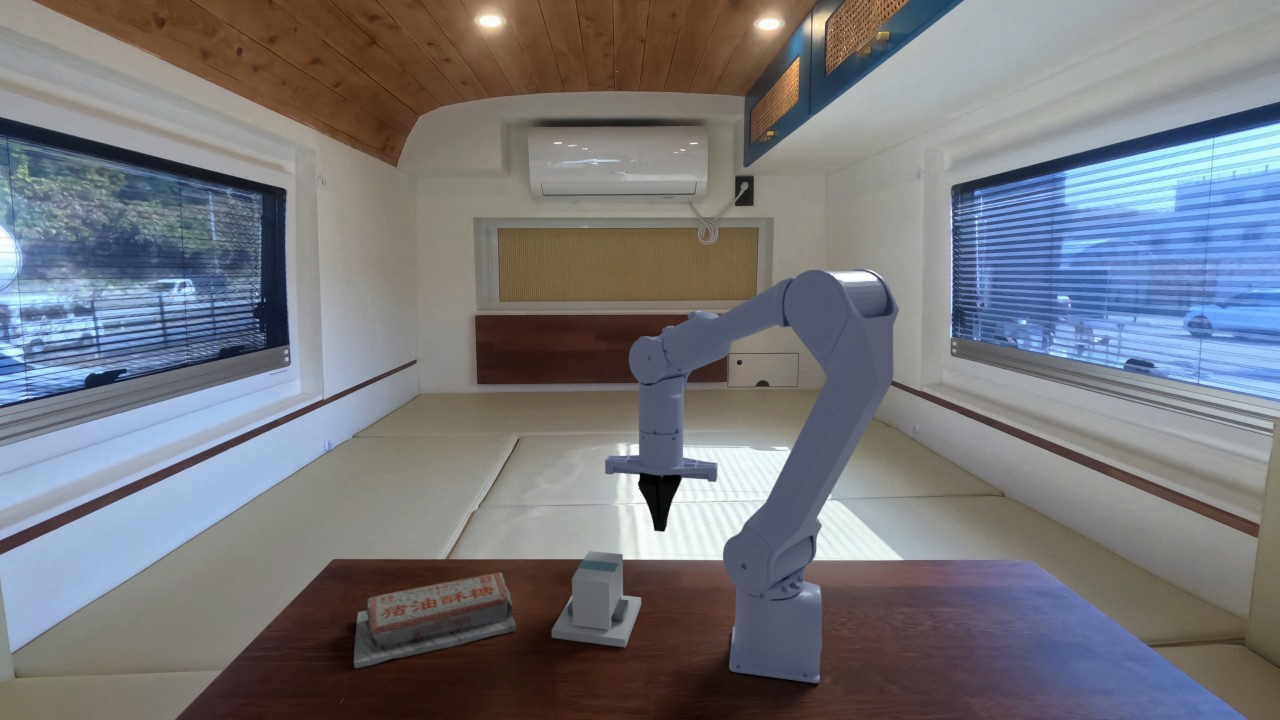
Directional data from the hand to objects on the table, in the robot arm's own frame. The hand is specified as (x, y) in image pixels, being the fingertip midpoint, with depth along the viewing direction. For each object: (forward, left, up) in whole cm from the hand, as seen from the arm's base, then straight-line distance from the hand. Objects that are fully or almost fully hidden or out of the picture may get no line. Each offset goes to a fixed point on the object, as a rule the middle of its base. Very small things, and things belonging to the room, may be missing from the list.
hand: (660, 528), depth 79 cm
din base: (+7, +8, -9) cm, 14 cm away
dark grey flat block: (+6, +7, -8) cm, 13 cm away
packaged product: (+26, +13, -10) cm, 30 cm away
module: (+7, +7, -8) cm, 13 cm away
